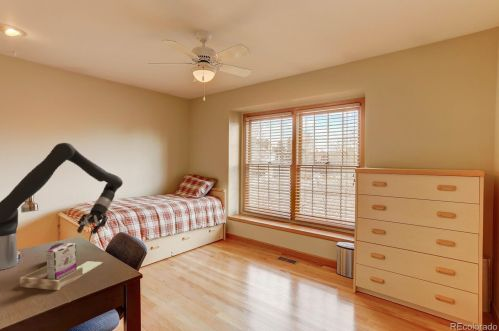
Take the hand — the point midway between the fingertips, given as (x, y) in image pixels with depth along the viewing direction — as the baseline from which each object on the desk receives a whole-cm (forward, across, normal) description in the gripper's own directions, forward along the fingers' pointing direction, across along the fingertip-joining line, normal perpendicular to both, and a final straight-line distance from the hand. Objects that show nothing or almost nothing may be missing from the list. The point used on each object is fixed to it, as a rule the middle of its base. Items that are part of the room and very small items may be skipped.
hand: (86, 232), depth 135 cm
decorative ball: (+10, -20, +16) cm, 28 cm away
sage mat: (+13, 0, +13) cm, 19 cm away
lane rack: (+24, -4, +2) cm, 24 cm away
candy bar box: (+24, 0, +3) cm, 24 cm away
